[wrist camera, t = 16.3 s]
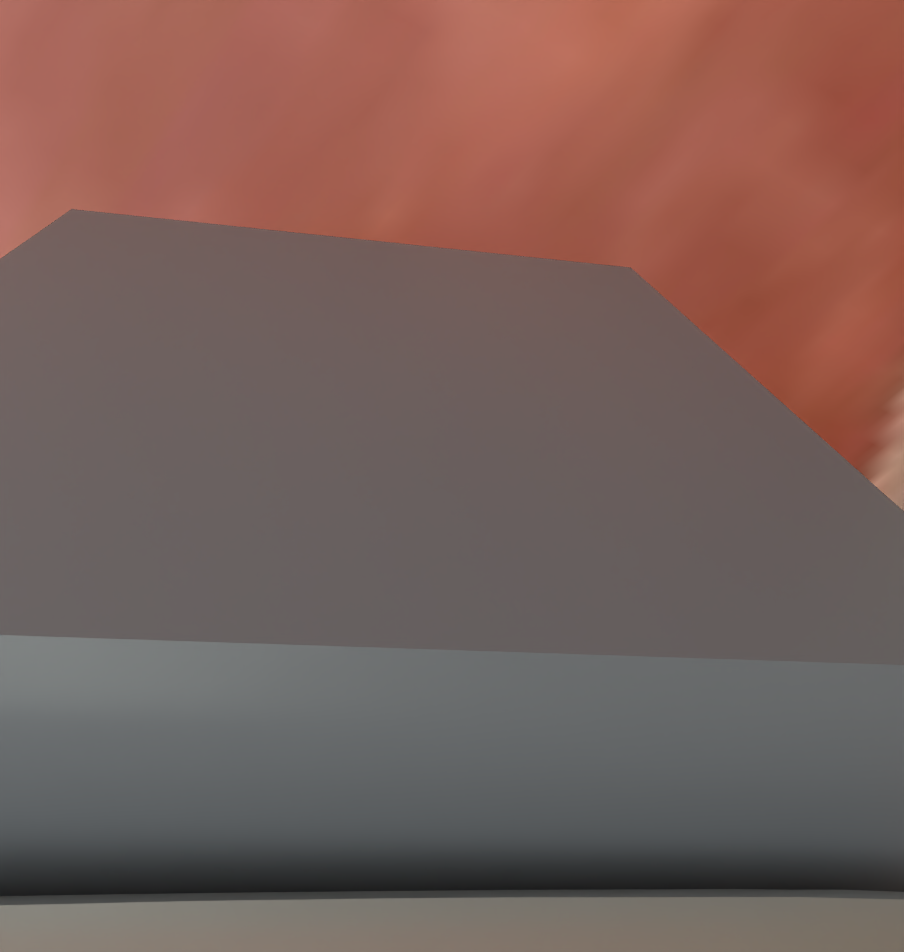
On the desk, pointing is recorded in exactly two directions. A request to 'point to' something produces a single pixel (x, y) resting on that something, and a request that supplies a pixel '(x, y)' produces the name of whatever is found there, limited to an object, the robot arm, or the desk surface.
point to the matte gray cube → (421, 582)
